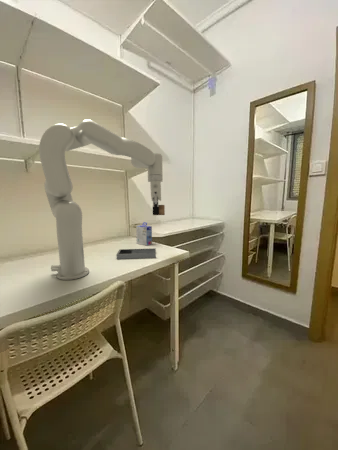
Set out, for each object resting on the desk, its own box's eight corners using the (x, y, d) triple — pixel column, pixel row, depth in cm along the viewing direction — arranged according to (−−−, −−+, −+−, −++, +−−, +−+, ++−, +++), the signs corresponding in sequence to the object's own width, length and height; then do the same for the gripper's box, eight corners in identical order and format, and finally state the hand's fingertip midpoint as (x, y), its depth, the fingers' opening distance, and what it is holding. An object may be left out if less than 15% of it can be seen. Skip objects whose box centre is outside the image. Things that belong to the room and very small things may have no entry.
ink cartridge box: (152, 244, 141) (152, 222, 138) (146, 245, 136) (146, 223, 134) (142, 242, 147) (141, 221, 144) (136, 243, 142) (135, 222, 140)
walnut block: (152, 215, 108) (152, 205, 107) (153, 214, 113) (152, 204, 112) (164, 215, 109) (164, 205, 108) (164, 214, 114) (164, 204, 113)
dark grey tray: (116, 259, 110) (116, 254, 110) (119, 253, 120) (119, 249, 120) (155, 257, 111) (155, 253, 111) (155, 252, 121) (155, 248, 121)
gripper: (163, 177, 100) (163, 215, 103) (161, 179, 117) (162, 212, 119) (147, 177, 99) (148, 216, 102) (148, 179, 116) (149, 212, 119)
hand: (155, 213), depth 111 cm, fingers closed on walnut block, 5 cm apart
